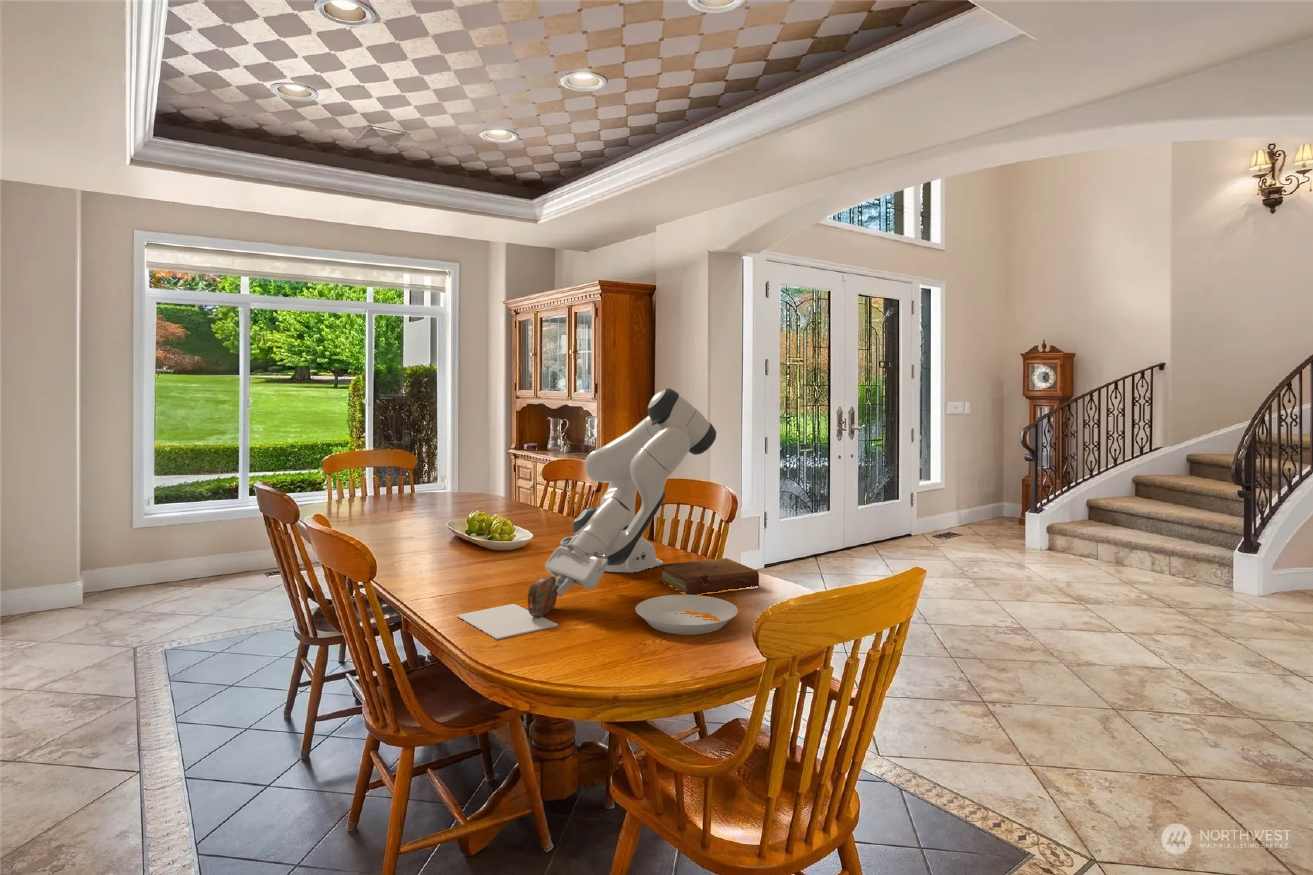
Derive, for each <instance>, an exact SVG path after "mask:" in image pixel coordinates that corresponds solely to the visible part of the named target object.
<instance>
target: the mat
mask: <svg viewBox="0 0 1313 875" xmlns="http://www.w3.org/2000/svg"><path fill="white" fill-rule="evenodd" d="M455 616H457V617H456V618H458V619H459V618H460V619H459V620H461V619H463V620H464V621H463V620H462V621H463V622H465V623H466V622H467V623H466V624H468V623H469V624H468V625H470V624H471V625H470V626H472V627H473V626H475V627H476V628H475V627H474V628H475V629H477V628H478V629H477V630H479V631H480V630H482V631H483V632H482V631H481V632H482V633H483V634H486V633H487V634H488V635H487V634H486V635H487V636H489V637H491V636H492V637H491V638H493V639H494V638H495V639H494V640H497V641H498V640H503V639H508V638H511V637H516V636H521V635H524V634H529V633H533V632H538V631H542V630H547V629H552V628H555V627H558V626H559V624H558V623H556V622H554V621H551V620H550V619H548V618H546V617H544V616H543V617H540V616H531V615H530V613H529V611H528V609H526V608H524V607H523V606H520V605H518V604H515V603H512V604H506V605H500V606H496V607H491V608H486V609H485V608H484V609H481V610H475V611H470V612H466V613H461V614H456V615H455Z"/></svg>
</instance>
